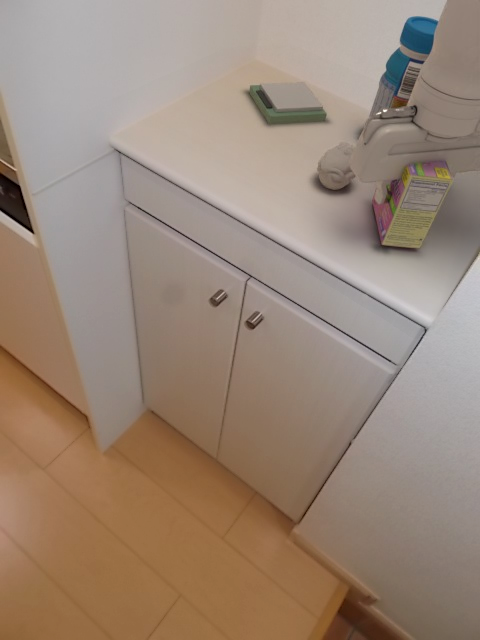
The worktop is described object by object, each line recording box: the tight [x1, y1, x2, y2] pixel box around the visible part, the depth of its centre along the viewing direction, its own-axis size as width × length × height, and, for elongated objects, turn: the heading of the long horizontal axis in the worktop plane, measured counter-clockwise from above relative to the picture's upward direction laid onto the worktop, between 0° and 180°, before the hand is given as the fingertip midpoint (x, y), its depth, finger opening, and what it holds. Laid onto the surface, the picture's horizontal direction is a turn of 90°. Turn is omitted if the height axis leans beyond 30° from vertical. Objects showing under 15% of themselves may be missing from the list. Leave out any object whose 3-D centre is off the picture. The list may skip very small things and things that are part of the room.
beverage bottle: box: [368, 15, 439, 118], centre depth 86 cm, size 8×8×20 cm
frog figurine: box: [316, 141, 356, 191], centre depth 81 cm, size 6×7×7 cm
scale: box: [248, 81, 327, 125], centre depth 96 cm, size 11×11×3 cm
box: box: [371, 161, 454, 249], centre depth 72 cm, size 10×6×12 cm, turn 178°
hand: (405, 198), depth 73 cm, fingers closed on box, 6 cm apart
